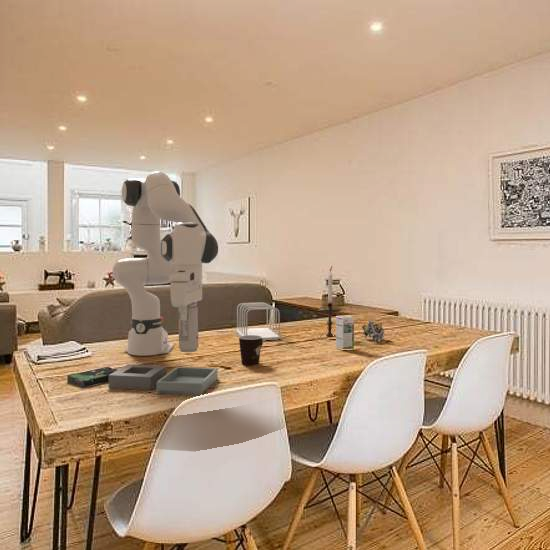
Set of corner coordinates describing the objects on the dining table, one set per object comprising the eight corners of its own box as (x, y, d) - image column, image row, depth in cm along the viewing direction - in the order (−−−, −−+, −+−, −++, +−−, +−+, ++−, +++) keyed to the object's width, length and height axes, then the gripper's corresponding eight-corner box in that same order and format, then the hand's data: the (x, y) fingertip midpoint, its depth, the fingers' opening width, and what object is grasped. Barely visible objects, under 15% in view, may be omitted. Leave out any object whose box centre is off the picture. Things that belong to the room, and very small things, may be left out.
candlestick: (342, 336, 235) (342, 265, 233) (339, 340, 225) (340, 266, 222) (319, 335, 238) (320, 264, 235) (316, 339, 227) (317, 265, 225)
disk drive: (107, 374, 167) (66, 383, 156) (107, 366, 167) (66, 374, 156) (125, 379, 161) (84, 389, 149) (125, 371, 161) (84, 380, 149)
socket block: (128, 376, 163) (127, 364, 163) (166, 377, 161) (166, 365, 161) (108, 387, 149) (108, 375, 149) (150, 389, 147) (150, 376, 147)
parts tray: (177, 377, 162) (176, 366, 161) (217, 378, 160) (217, 368, 160) (156, 393, 144) (156, 381, 144) (201, 395, 142) (201, 383, 142)
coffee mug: (245, 367, 175) (245, 340, 174) (234, 362, 182) (234, 336, 181) (273, 363, 181) (273, 337, 180) (261, 359, 188) (261, 333, 187)
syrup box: (342, 351, 202) (343, 317, 202) (335, 348, 208) (335, 315, 207) (354, 350, 205) (354, 316, 204) (346, 347, 210) (346, 314, 209)
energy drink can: (201, 351, 150) (200, 303, 150) (184, 353, 147) (183, 304, 146) (193, 347, 155) (192, 301, 154) (175, 350, 152) (174, 303, 151)
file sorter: (235, 332, 245) (235, 302, 244) (268, 331, 249) (268, 301, 248) (245, 342, 221) (245, 308, 220) (281, 340, 225) (281, 307, 224)
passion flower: (378, 353, 222) (374, 335, 215) (358, 346, 229) (354, 328, 222) (390, 337, 228) (387, 319, 221) (371, 330, 235) (367, 312, 228)
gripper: (188, 272, 160) (188, 313, 161) (166, 275, 140) (166, 323, 141) (206, 272, 160) (207, 313, 160) (187, 276, 139) (187, 323, 140)
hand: (188, 318), depth 151 cm, fingers closed on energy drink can, 6 cm apart
